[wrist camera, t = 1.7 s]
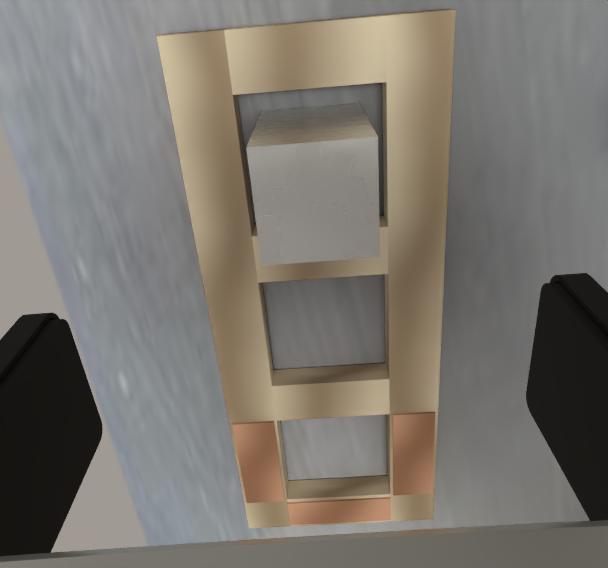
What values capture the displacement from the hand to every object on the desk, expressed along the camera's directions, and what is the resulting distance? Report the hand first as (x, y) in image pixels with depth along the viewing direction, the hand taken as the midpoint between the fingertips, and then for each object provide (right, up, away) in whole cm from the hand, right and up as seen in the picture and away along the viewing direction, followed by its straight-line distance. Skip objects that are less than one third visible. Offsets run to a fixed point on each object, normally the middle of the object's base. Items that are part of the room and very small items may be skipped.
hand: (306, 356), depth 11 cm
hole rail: (+1, 0, +19) cm, 19 cm away
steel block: (0, +7, +15) cm, 17 cm away
